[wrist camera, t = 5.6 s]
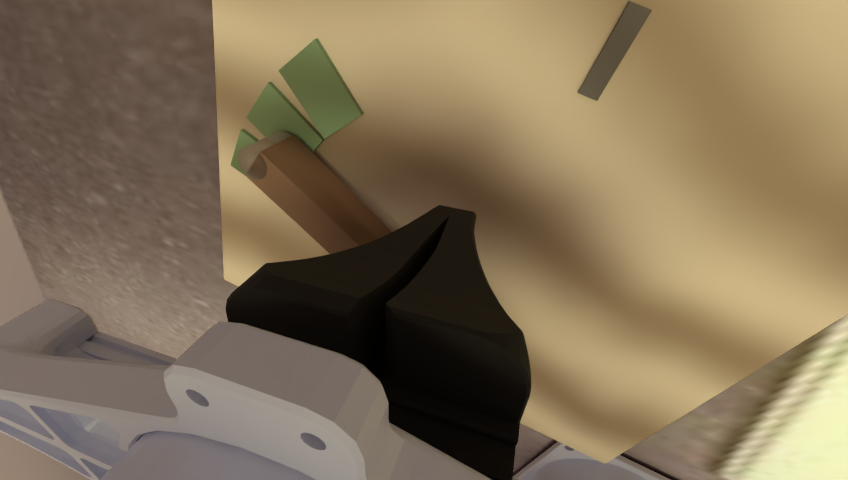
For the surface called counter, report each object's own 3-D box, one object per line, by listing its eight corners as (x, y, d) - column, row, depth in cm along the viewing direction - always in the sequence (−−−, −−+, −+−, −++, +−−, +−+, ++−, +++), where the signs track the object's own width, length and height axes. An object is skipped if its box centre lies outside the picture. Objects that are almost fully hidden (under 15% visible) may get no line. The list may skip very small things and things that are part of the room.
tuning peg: (517, 324, 16) (509, 384, 14) (459, 350, 18) (443, 406, 16) (298, 101, 14) (238, 125, 11) (259, 160, 16) (201, 191, 13)
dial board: (602, 443, 21) (605, 467, 20) (238, 267, 22) (221, 281, 21) (1214, 25, 8) (1325, 29, 7) (233, -337, 9) (189, -382, 8)
